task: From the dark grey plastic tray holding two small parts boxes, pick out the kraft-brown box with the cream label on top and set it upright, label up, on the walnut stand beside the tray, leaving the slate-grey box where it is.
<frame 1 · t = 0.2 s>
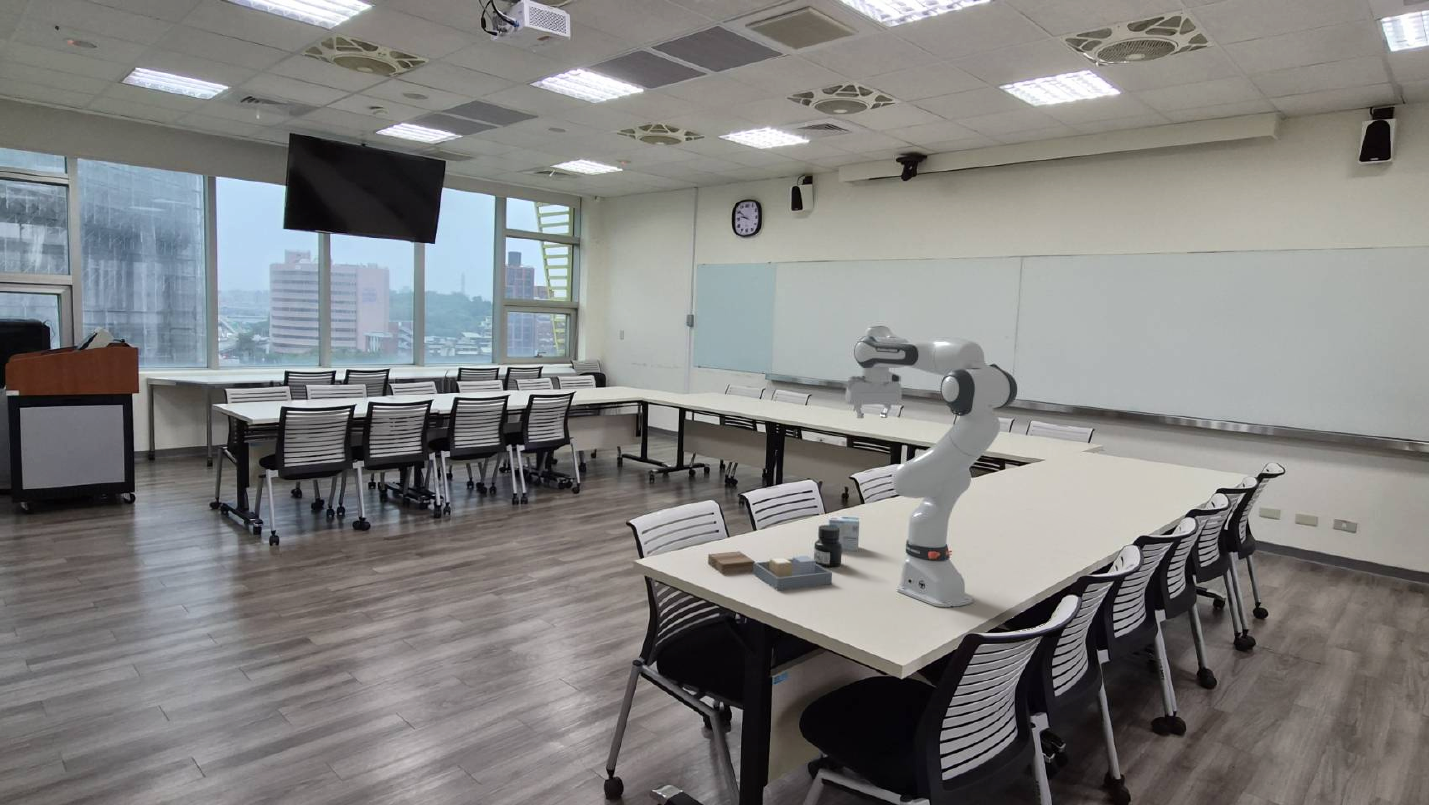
hand: (872, 418, 257), 48 cm above the table, fingers open, 8 cm apart
walnut stand: (730, 567, 248), on the table
parts tray: (791, 578, 238), on the table
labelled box: (780, 580, 237), resting in parts tray
light bulb box: (842, 548, 274), on the table
plain box: (803, 577, 240), resting in parts tray
ink bottle: (827, 564, 255), on the table
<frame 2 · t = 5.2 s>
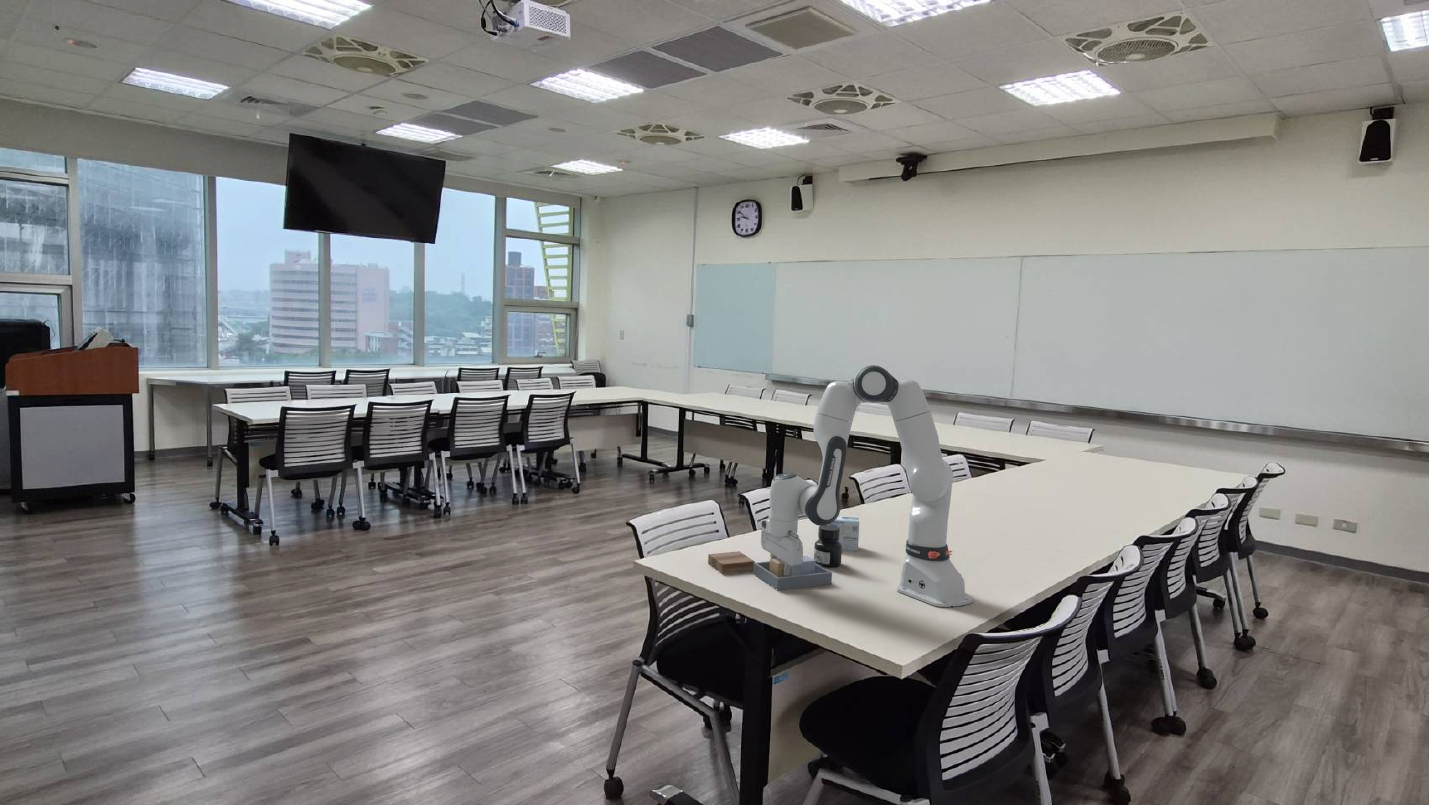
hand: (780, 571, 236), 3 cm above the table, fingers closed on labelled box, 5 cm apart
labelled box: (780, 580, 237), resting in parts tray, touching gripper
everything else where it was.
when the fingers open (7 cm above the table, at t = 12.0 s): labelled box drops 1 cm, resting on walnut stand.
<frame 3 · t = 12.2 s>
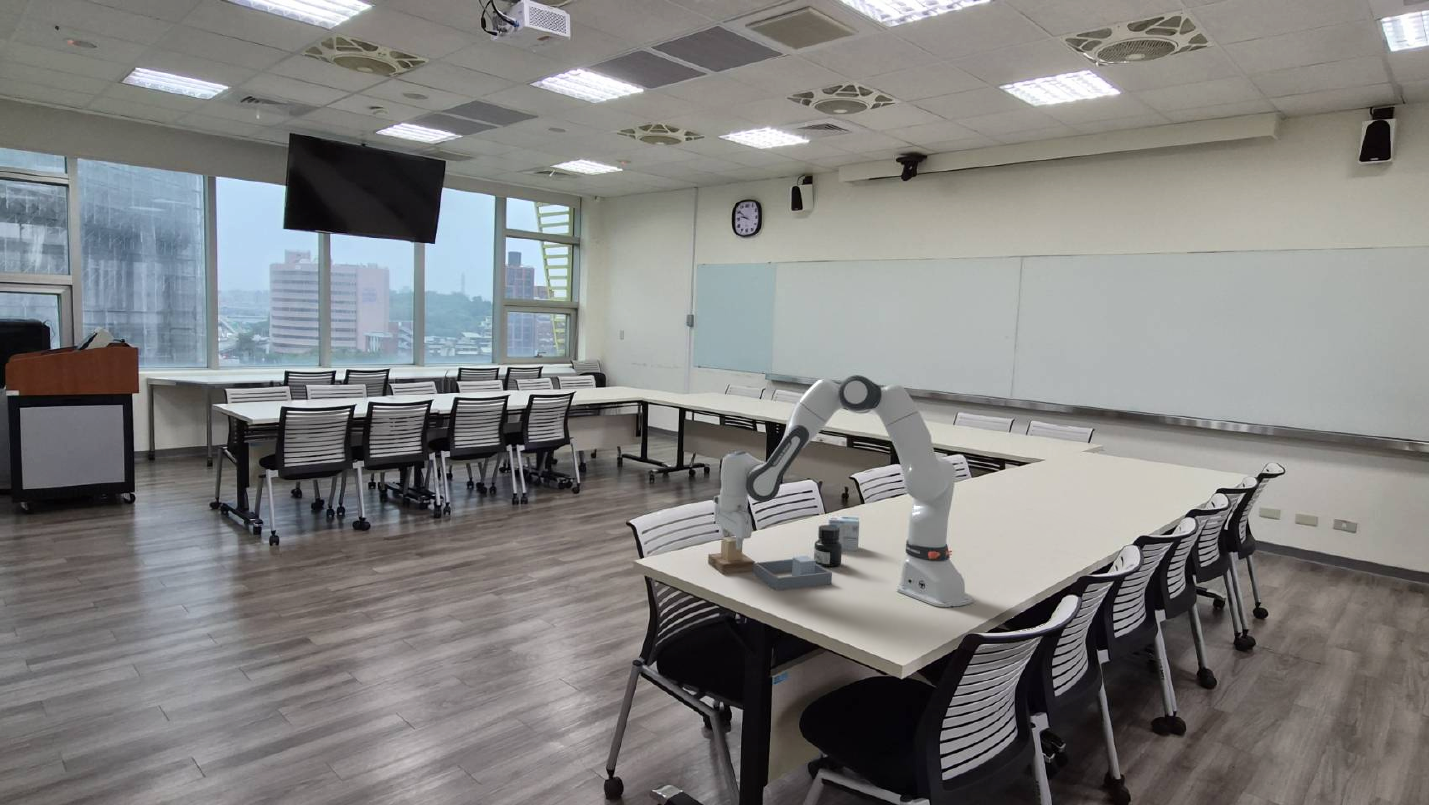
hand: (731, 545, 247), 7 cm above the table, fingers open, 7 cm apart
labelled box: (731, 557, 247), point 3 cm above the table, touching walnut stand
everything else where it was.
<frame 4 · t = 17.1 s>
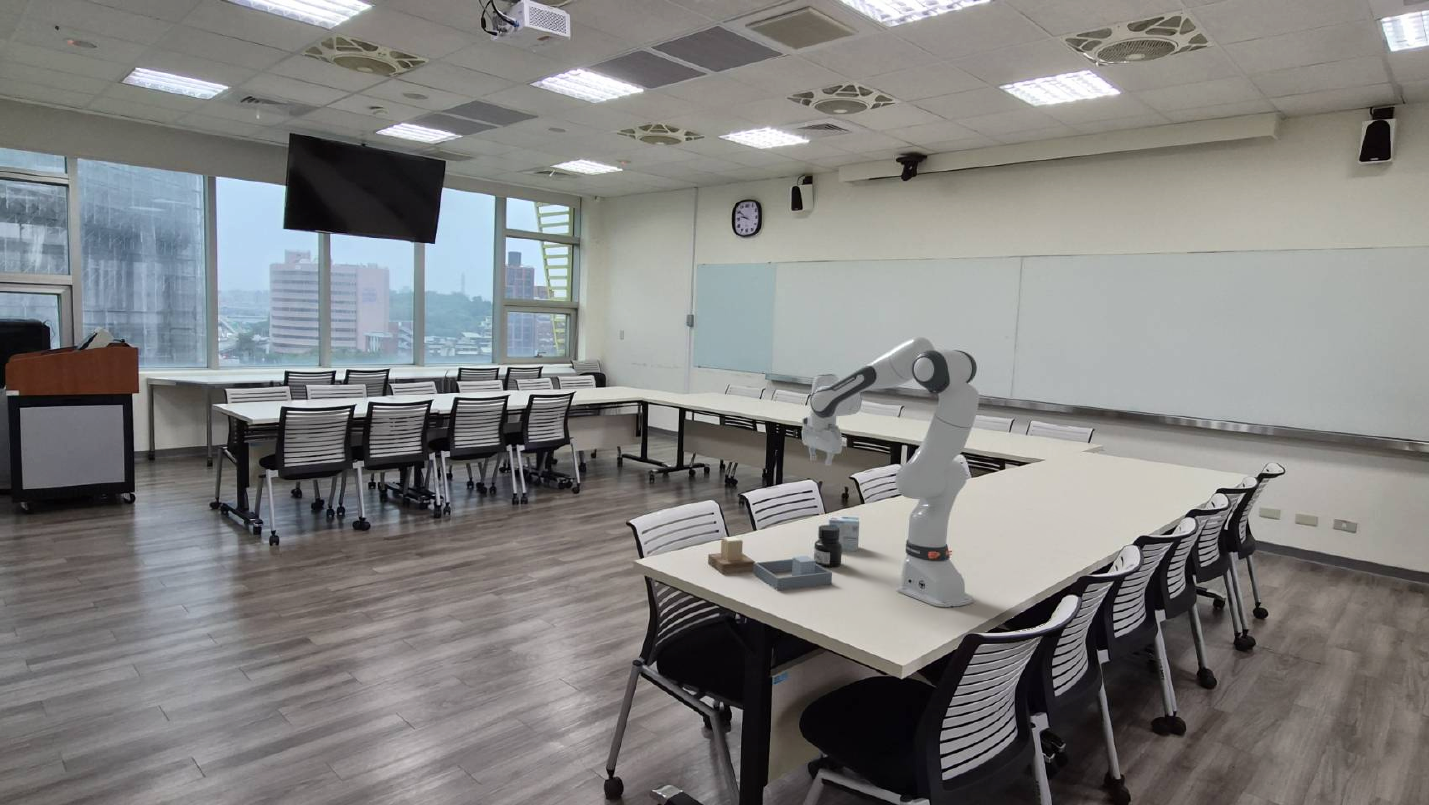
hand: (820, 462, 264), 31 cm above the table, fingers open, 8 cm apart
nothing on the table moved.
at the end: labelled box inside the target area on the walnut stand (0.0 cm from its centre), point 3.0 cm above the walnut stand's base; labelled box tilted 0°; plain box moved 0.1 cm from its start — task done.
